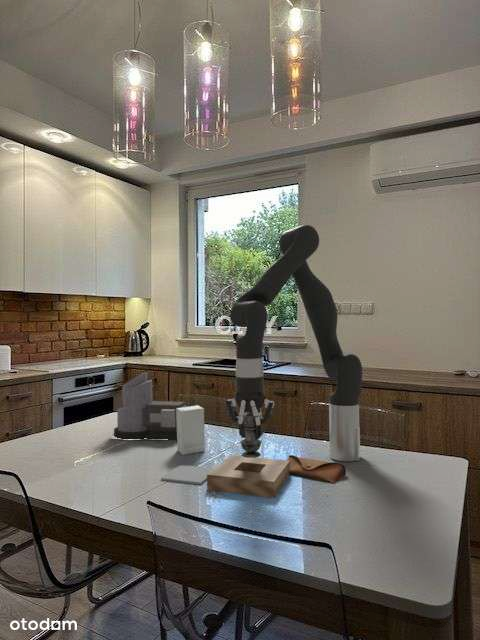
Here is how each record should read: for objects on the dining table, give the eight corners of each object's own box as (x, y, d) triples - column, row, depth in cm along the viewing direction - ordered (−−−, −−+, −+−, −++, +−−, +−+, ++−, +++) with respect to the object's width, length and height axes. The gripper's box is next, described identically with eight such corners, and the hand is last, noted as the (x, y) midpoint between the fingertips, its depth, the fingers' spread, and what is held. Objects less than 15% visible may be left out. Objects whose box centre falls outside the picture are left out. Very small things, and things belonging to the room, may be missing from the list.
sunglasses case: (275, 473, 133) (281, 450, 135) (285, 479, 138) (289, 457, 141) (336, 484, 123) (340, 459, 126) (343, 490, 128) (347, 466, 131)
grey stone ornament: (260, 458, 122) (259, 413, 122) (238, 457, 123) (237, 412, 123) (263, 452, 128) (262, 408, 128) (242, 451, 129) (241, 408, 129)
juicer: (103, 440, 171) (102, 374, 171) (121, 430, 187) (120, 369, 187) (181, 442, 167) (180, 375, 167) (192, 432, 183) (192, 370, 183)
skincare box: (199, 447, 160) (198, 404, 160) (205, 452, 155) (205, 407, 155) (176, 450, 156) (175, 407, 156) (181, 455, 151) (181, 410, 151)
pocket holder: (290, 474, 131) (289, 460, 131) (274, 497, 114) (273, 481, 114) (230, 468, 137) (230, 455, 137) (206, 489, 120) (206, 474, 120)
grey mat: (217, 470, 135) (217, 468, 135) (201, 484, 124) (201, 482, 124) (180, 466, 139) (180, 464, 139) (161, 480, 128) (161, 477, 128)
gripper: (278, 373, 127) (279, 436, 127) (229, 372, 131) (231, 432, 131) (271, 376, 120) (272, 443, 120) (220, 375, 124) (221, 439, 124)
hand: (250, 437), depth 126 cm, fingers closed on grey stone ornament, 3 cm apart
